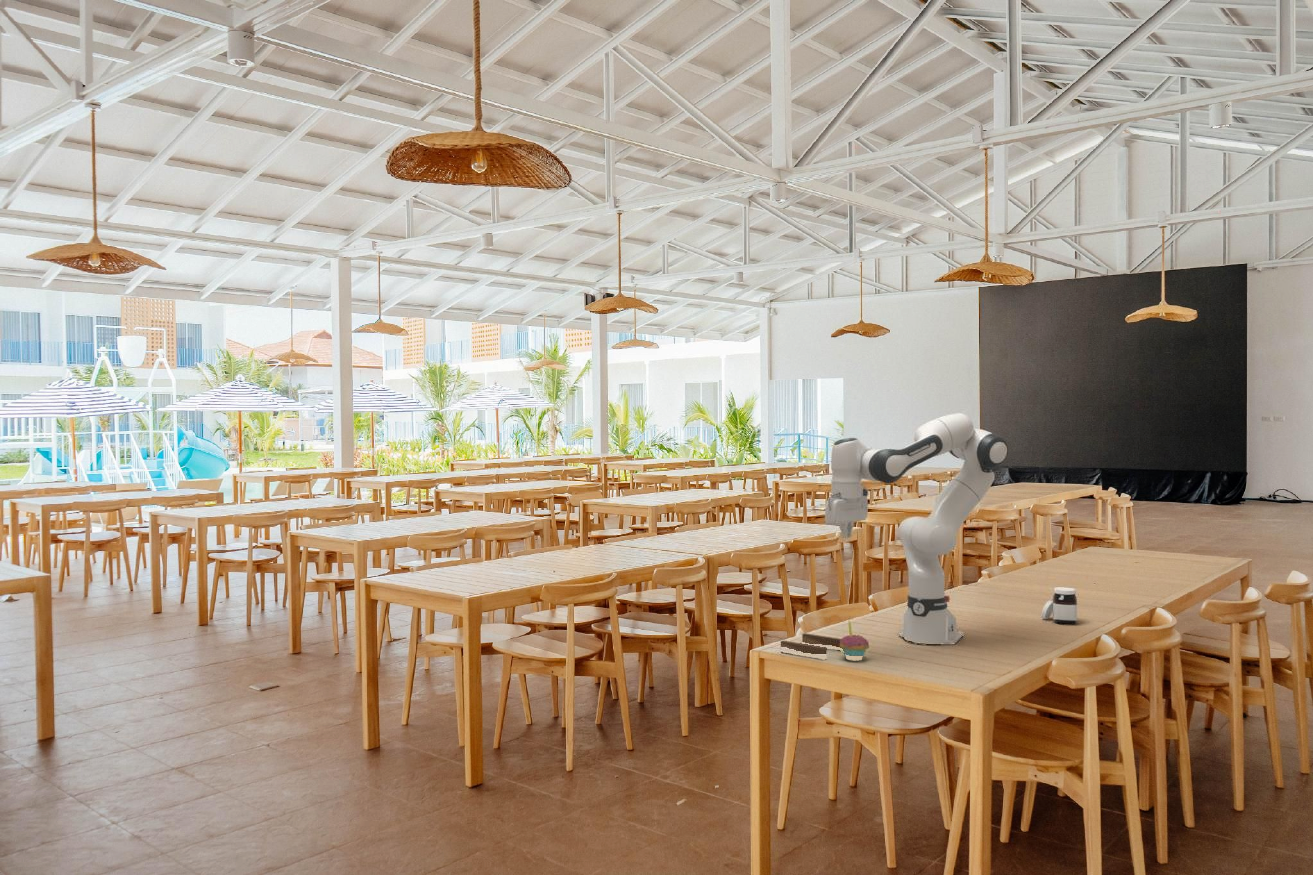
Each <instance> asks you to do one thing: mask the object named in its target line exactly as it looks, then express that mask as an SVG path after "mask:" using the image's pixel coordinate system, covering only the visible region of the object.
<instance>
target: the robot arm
mask: <svg viewBox="0 0 1313 875" xmlns="http://www.w3.org/2000/svg"><path fill="white" fill-rule="evenodd" d="M913 438H914V439H913V440H914V442H913V443H911V444H908V445H906V446H904V447H902V448H899V449H892V448H889V449H888V448H887V449H886V448H885V449H882V448H881V449H879V448H873V447H871V446H868V445H866V444H864V443H862V442H861V441H860V440H859V439H858V438H856V437H849V438H847V437H846V438H842V439H838V440H836V441H835V442H834V443H833V445H832V448H831V457H830V458H831V459H830V465H831V466H830V467H831V468H830V469H831V472H832V476H831V477H832V478H831V483H830V484H831V487H830V488H831V490H830V491H831V492H830V495H829V497H828V498H827V500H826V503H825V510H824V522H825V524H826V525H827V526H839V529H840V532H841V538H842V539H849V538H851V537H852V531H853V529H854V523H856V522H860V521H866V520H867V517H868V511H869V510H868V508H869V506H868V504H869V503H868V497H869V494H870V493H869V489H868V488H866V487H864V486H863V485H862V479H864V480H867V481H874V482H875V481H876V482H881V483H885V484H894V483H896V482H897V481H899V480H900V479H901V478H902V477H903V476H904V475H905V474H906V472H908V471H909V470H911V469H912V468H914V467H915V466H917V465H920V464H922V463H924V462H926V461H928V460H930V459H931V458H934V457H937V456H942V455H944V454H946V453H949V454H950V455H952V456H953V457H954V458H957V459H961V460H962V461H964V462H963V465H962V467H961V469H960V471H957V473H956V474H955V475H954V476H953V477H952V478H951V480H949V482H948V483H947V485H945V487H943V489H942V490H941V491H940V492H939V493H938V494H937V496H936V497H935V503H934V507H933V509H932V511H931V513H930V514H929V515H928V516H927V517H924V516H911V517H908V518H905V519H903V520H902V521H901V522H900V524H899V526H898V528H897V536H898V539H899V540H900V542H901V544H902V548H903V552H904V556H905V560H906V566H907V572H908V573H907V574H908V594H907V597H906V598H907V599H906V603H907V604H906V606H907V608H906V610H905V611H904V612H903V617H902V618H903V619H902V621H903V622H902V630H901V632H899V633H898V636H899V635H901V636H903V637H904V638H906V639H907V640H911V641H913V642H920V643H928V644H941V643H956V642H957V641H958V640H959V639H960V638H961V637H962V636H963V635H964V636H965V632H963V631H961V630H957V619H956V618H957V617H956V616H954V615H953V613H952V612H951V611H950V610H949V609H948V606H949V605H948V603H950V600H951V598H950V595H945V590H946V589H945V588H946V587H945V585H946V584H945V571H944V569H943V567H942V565H941V562H940V558H939V556H944V555H948V554H949V553H951V552H953V550H954V549H955V548H956V546H957V543H958V542H957V541H958V537H957V535H958V533H959V530H960V528H961V527H962V525H963V523H964V521H965V520H966V519H967V517H968V516H969V515H970V514H971V512H973V510H974V509H975V508H976V507H977V505H978V504H979V503H980V502H981V500H982V499H983V498H984V497H985V495H987V492H988V491H989V489H990V488H991V486H992V484H993V482H994V481H995V472H997V471H998V470H999V469H1000V468H1001V466H1002V465H1003V464H1004V462H1005V461H1006V459H1007V457H1008V454H1009V443H1008V441H1007V440H1006V439H1005V438H1003V437H1002V436H1001V435H999V434H997V433H992V432H990V431H987V430H984V429H981V428H975V427H974V424H973V421H972V420H971V418H970V417H969V416H967V415H966V414H965V413H961V412H956V413H950V414H946V415H942V416H940V417H937V418H934V419H931V420H930V421H926V422H925V423H924V424H922V425H920V426H919V427H917V428H916V430H915V432H914V437H913ZM964 636H963V637H964ZM963 637H962V638H963ZM962 638H961V639H962ZM961 639H960V640H961ZM960 640H959V641H960ZM959 641H958V642H959ZM958 642H957V643H958ZM957 643H956V644H957ZM941 645H942V644H941Z"/></svg>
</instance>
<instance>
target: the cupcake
mask: <svg viewBox="0 0 1313 875" xmlns="http://www.w3.org/2000/svg"><path fill="white" fill-rule="evenodd" d="M847 624H848V631H849V635H846V636H843V637H842V638H840V639H841V640H840V648H842V649H843V651H844V652H843V653H844V655H845V654H846V655H849V656H863V655H865V653H866V650H868V649H869V648H870V646H869V641H868V640H867V639H866V638H865V637H863V636H862V635H859V634H857V635H856V634H853V632H852V624H851V621H850V620H848V623H847ZM863 657H864V656H863Z"/></svg>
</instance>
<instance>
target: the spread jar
mask: <svg viewBox="0 0 1313 875" xmlns="http://www.w3.org/2000/svg"><path fill="white" fill-rule="evenodd" d="M1053 590H1054V591H1053V593H1054V594H1053V595H1052V596H1053V597H1052V600H1050V599H1049V600H1048V601H1046V603H1045V604H1044V606H1043V608H1042V610H1041V614H1040V615H1041V618H1042V619H1044V620H1046V619H1047V620H1048V619H1049V618H1051V616H1052V621H1053V622H1054V623H1055V624H1057V625H1064V624H1072V625H1076V624H1077V622H1078V599H1077V595H1076V592H1077V591H1076V588H1074V587H1073V588H1072V587H1067V586H1066V587H1065V586H1059V587H1058V586H1057V587H1054V589H1053Z"/></svg>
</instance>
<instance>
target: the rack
mask: <svg viewBox="0 0 1313 875" xmlns="http://www.w3.org/2000/svg"><path fill="white" fill-rule="evenodd" d="M801 635H802V636H801V638H802V639H801V640H802V641H801V642H805V643H809V644H822V645H832V646H836V647H840V640H841V639H842V638H839V637H838V638H837V637H833V636H832V637H831V636H825V635H818V634H813V633H812V634H811V633H807V632H805V633H802V634H801ZM801 642H795V641H794V642H793V641H788V640H785V639H784V640H781V641H780V648H781V647H787V648H789V649H794V650H796V651H801V652H803V653H811V654H827V653H828V651H827V650H828V649H827V648H826V647H820V646H814V645H808V644H802V643H801Z"/></svg>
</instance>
